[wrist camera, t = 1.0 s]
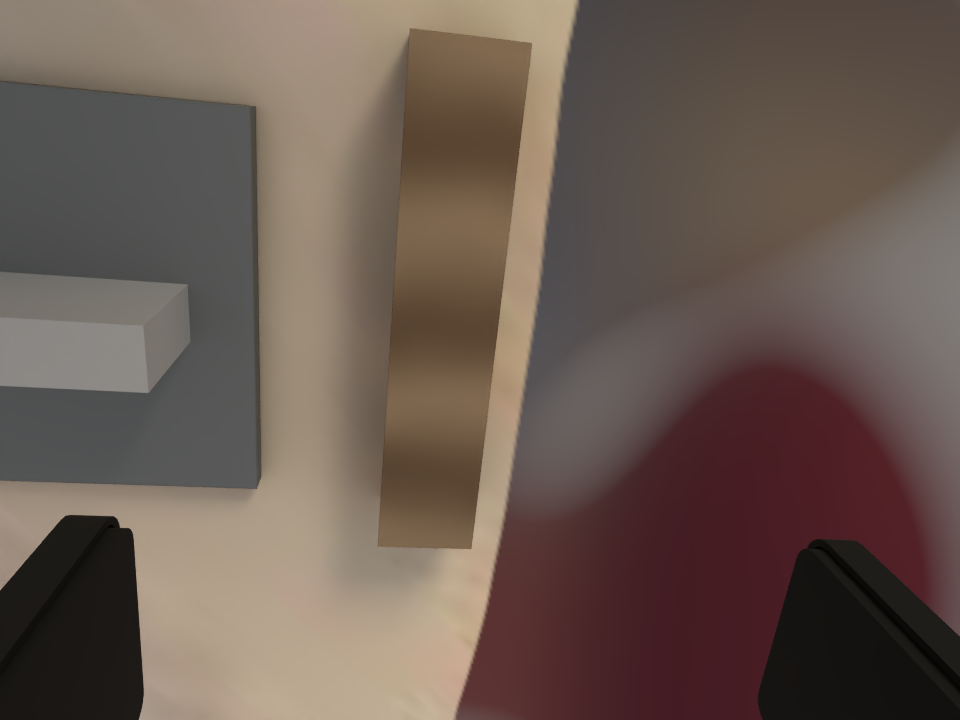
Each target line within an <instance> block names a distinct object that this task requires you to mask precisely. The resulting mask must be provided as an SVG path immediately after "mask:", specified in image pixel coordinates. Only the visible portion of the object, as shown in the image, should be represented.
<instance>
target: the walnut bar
mask: <svg viewBox="0 0 960 720" xmlns="http://www.w3.org/2000/svg"><path fill="white" fill-rule="evenodd" d="M531 48H532V43H526V42H518V41H510V40H501V39H493V38H485V37H477V36H469V35H460V34H452V33H444V32H436V31H427V30H419V29H411V28H410V35H409V51H408V67H407V83H406V99H405V115H404V131H403V147H402V163H401V180H400V196H399V212H398V228H397V244H396V260H395V276H394V292H393V309H392V325H391V341H390V357H389V373H388V389H387V405H386V421H385V437H384V454H383V470H382V486H381V502H380V518H379V534H378V546H382V547H418V548H454V549H471V548H472V539H473V531H474V523H475V514H476V506H477V498H478V489H479V481H480V473H481V464H482V456H483V448H484V439H485V431H486V423H487V414H488V406H489V398H490V389H491V381H492V373H493V364H494V356H495V348H496V339H497V331H498V323H499V314H500V306H501V298H502V289H503V281H504V273H505V264H506V256H507V248H508V240H509V231H510V223H511V215H512V206H513V198H514V190H515V181H516V173H517V165H518V156H519V148H520V140H521V131H522V123H523V115H524V106H525V98H526V90H527V81H528V73H529V65H530V56H531Z"/></svg>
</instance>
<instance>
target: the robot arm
mask: <svg viewBox="0 0 960 720" xmlns="http://www.w3.org/2000/svg"><path fill="white" fill-rule="evenodd" d="M143 696H144V687H143V672H142V657H141V642H140V627H139V612H138V597H137V582H136V567H135V552H134V539H133V533H132V531H131V529H129V528H120V526H119V522H118V520H117V519H116V518H115V517H114V516H84V515H68V516H65V517H64V518H63V519H61V520H60V522H59V523H58V524H57V525H56V526H55V527H54V529H53V530H52V531H51V532H50V533H49V534H48V536H47V537H46V538H45V539H44V540H43V541H42V543H41V544H40V545H39V546H38V547H37V548H36V550H35V551H34V552H33V553H32V554H31V555H30V557H29V558H28V559H27V560H26V561H25V562H24V564H23V565H22V566H21V567H20V568H19V569H18V571H17V572H16V573H15V574H14V575H13V576H12V578H11V579H10V580H9V581H8V582H7V583H6V585H5V586H4V587H3V588H2V589H1V590H0V720H139V717H140V713H141V709H142V704H143ZM758 704H759V710H760V713H761V717H762V719H763V720H960V636H959V635H958V634H956V633H955V632H954V631H953V630H952V629H951V628H950V627H949V626H948V625H947V624H946V623H945V622H944V621H943V620H941V618H939V617H938V616H937V615H936V614H935V613H934V612H933V611H932V610H931V609H930V608H929V607H928V606H927V605H926V604H925V603H923V602H922V601H921V600H920V599H919V598H918V597H917V596H916V595H915V594H914V593H913V592H912V591H911V590H910V589H909V588H908V587H906V586H905V585H904V584H903V583H902V582H901V581H900V580H899V579H898V578H897V577H896V576H895V575H894V574H893V573H892V572H890V571H889V570H888V569H887V568H886V567H885V566H884V565H883V564H882V563H881V562H880V561H879V560H878V559H876V558H875V557H874V556H873V555H872V554H871V553H870V552H869V551H868V550H867V549H866V548H865V547H864V546H863V545H861V544H860V543H858V542H857V541H853V540H830V539H816V540H814V541H812V542H811V543H810V544H809V546H808V548H807V549H803V550H801V551H800V553H799V554H798V556H797V559H796V562H795V566H794V569H793V573H792V576H791V580H790V583H789V587H788V590H787V594H786V597H785V601H784V604H783V608H782V611H781V615H780V618H779V622H778V626H777V629H776V633H775V636H774V640H773V644H772V647H771V650H770V654H769V657H768V661H767V664H766V668H765V671H764V675H763V678H762V682H761V686H760V689H759V694H758Z"/></svg>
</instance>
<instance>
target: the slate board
mask: <svg viewBox="0 0 960 720" xmlns="http://www.w3.org/2000/svg"><path fill="white" fill-rule="evenodd" d="M260 479H261V431H260V364H259V298H258V231H257V164H256V106H246V105H236V104H226V103H216V102H206V101H196V100H186V99H176V98H166V97H156V96H146V95H136V94H126V93H116V92H106V91H96V90H86V89H76V88H66V87H56V86H46V85H36V84H26V83H16V82H6V81H0V480H2V481H32V482H63V483H94V484H125V485H156V486H187V487H217V488H248V489H257V487H258V484H259V482H260Z"/></svg>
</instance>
